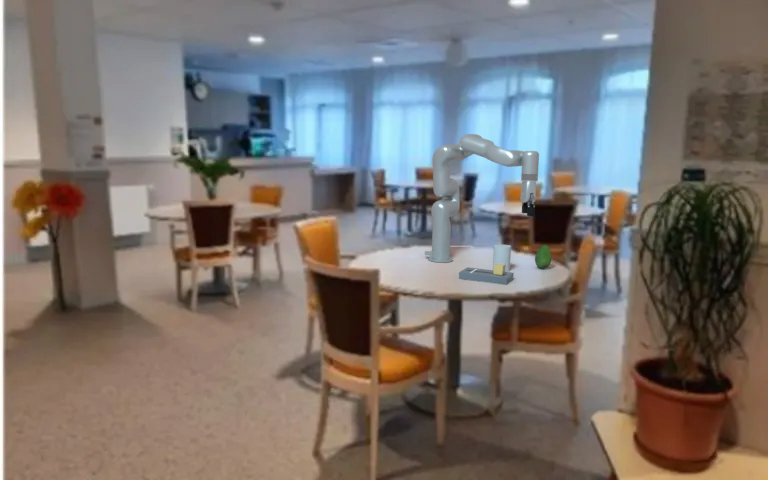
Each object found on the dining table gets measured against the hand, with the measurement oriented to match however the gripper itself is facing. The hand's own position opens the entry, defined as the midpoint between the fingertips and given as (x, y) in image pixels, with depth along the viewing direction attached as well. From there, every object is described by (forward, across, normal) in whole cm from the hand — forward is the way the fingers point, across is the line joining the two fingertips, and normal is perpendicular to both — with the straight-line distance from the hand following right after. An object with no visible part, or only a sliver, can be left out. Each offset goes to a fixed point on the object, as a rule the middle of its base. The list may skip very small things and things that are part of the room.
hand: (527, 214), depth 273 cm
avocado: (+29, -12, +12) cm, 33 cm away
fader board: (+28, +12, -21) cm, 37 cm away
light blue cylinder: (+28, -7, -10) cm, 31 cm away
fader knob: (+25, +15, -16) cm, 33 cm away
